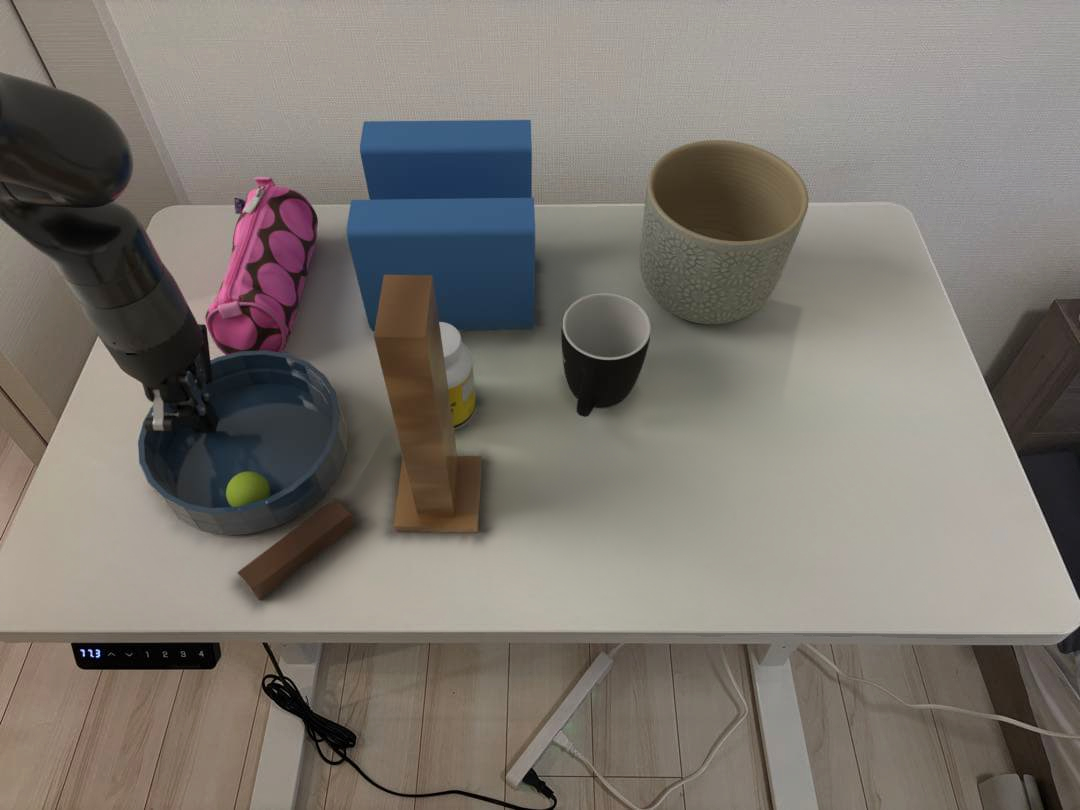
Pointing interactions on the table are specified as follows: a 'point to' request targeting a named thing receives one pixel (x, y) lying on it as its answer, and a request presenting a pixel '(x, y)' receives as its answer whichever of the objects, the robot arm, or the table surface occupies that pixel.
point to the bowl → (251, 444)
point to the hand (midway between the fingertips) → (207, 426)
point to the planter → (718, 229)
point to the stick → (296, 548)
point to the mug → (603, 349)
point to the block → (449, 218)
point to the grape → (247, 489)
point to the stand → (423, 412)
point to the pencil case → (264, 270)
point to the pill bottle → (458, 375)
